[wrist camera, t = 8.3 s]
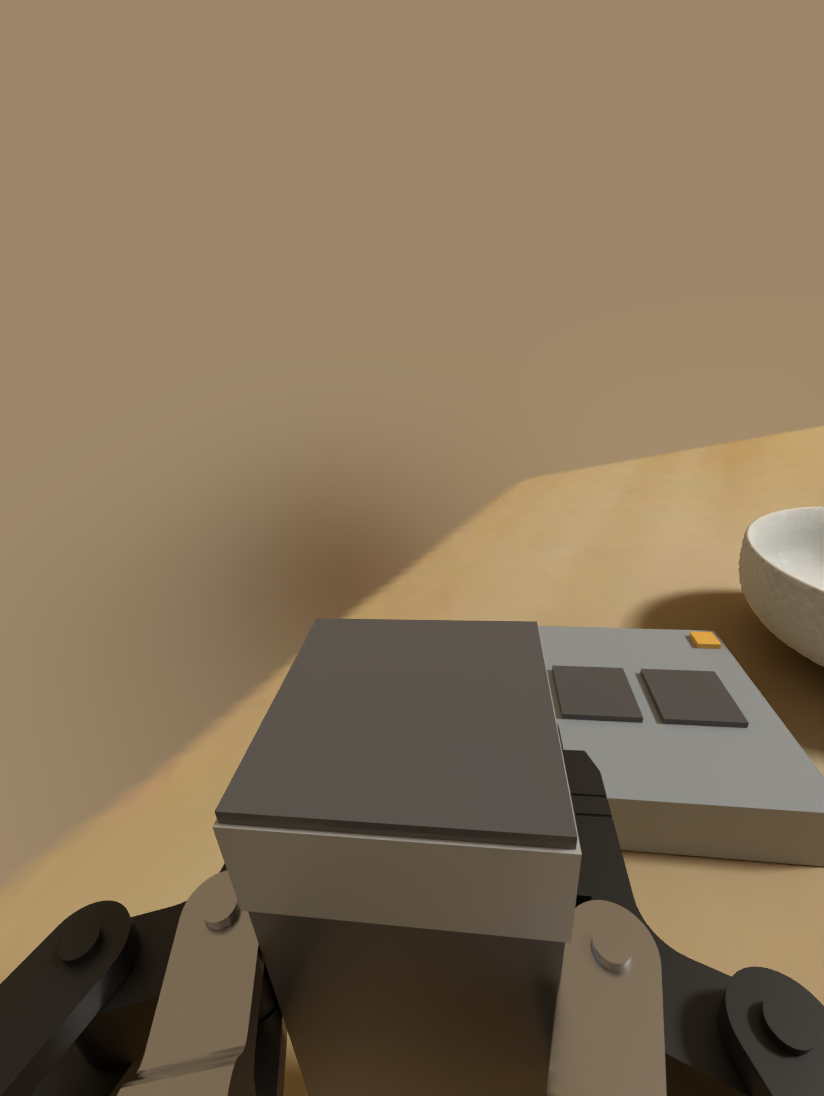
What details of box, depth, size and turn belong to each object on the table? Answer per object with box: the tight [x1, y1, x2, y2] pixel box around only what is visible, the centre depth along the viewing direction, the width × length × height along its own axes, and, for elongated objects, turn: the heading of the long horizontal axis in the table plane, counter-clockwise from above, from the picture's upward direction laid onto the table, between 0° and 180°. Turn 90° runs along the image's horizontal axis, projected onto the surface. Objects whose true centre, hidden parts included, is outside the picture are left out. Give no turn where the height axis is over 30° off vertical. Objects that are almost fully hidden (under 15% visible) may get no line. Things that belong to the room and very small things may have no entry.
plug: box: [213, 619, 582, 1096], centre depth 9 cm, size 4×4×10 cm
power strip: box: [538, 626, 824, 867], centre depth 26 cm, size 20×12×3 cm, turn 83°
